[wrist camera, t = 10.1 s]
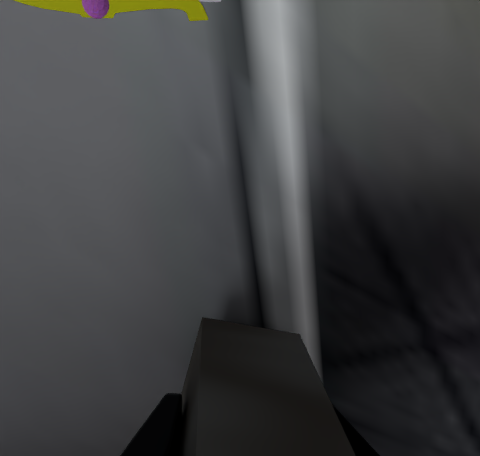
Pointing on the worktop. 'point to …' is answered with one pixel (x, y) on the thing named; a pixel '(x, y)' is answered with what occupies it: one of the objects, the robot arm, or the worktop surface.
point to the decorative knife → (120, 6)
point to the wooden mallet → (255, 397)
